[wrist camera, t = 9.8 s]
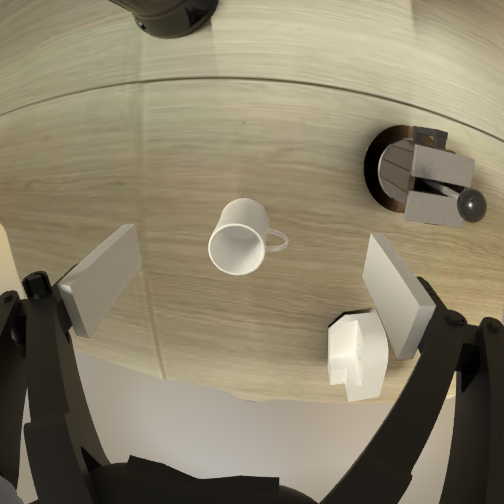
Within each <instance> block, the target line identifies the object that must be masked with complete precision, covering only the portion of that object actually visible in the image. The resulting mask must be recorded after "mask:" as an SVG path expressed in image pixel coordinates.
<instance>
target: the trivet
mask: <svg viewBox="0 0 504 504" xmlns="http://www.w3.org/2000/svg"><path fill="white" fill-rule="evenodd" d="M413 133H414V132H413V127H411V126H406V125H398V126H393V127H389V128H387V129H385V130H383V131H382V132H381V133H379V134H378V135H377V136H376V137H375V138H374V139H373V141H372V142H371V144H370V145H369V147H368V149H367V152H366V155H365V159H364V178H365V182H366V185H367V188H368V190H369V192H370V193H371V195H372V197H373V198H374V199H375V200H376V201H377V202H378V203H379V204H380V205H381V206H383V207H384V208H386V209H388V210H390V211H393V212H398V213H405V209H406V208H405V207H404V206H403V205H402V204H400V203H399V202H398V201H395V200H394V199H392V198H391V197H389V196H388V195H387V194H386V193H385V192H384V191H383V190H382V188H381V186H380V184H379V182H378V179H377V172H376V167H377V161H378V158H379V155H380V153H381V151H382V150H383V148H384V147H385V146H386V145H387V144H388V143H390V142H391V141H393V140H395V139H398V138H410V139H413ZM424 143H425V144H429V145H432V146H433V141H432V140H431V139H430V137H429V136H428V135H424Z"/></svg>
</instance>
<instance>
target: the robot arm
mask: <svg viewBox="0 0 504 504" xmlns="http://www.w3.org/2000/svg"><path fill="white" fill-rule="evenodd" d="M109 1H111V2H113V3H115V4H117V5H119V6H121V7H122V8H124V9H126V10H128V11H130V12H132V14H133V16H134V19H135V21H136V23H137V25H138V26H139V27H140V29H142V30H143V31H144V32H146V33H147V34H149V35H151V36H153V37H157V38H163V39H171V38H177V37H181V36H184V35H187V34H189V33H192V32H193V31H195V30H197V29H198V28H200V27H201V26H202V25H204V24H205V23H206V22H207V21H208V20H209V19H210V17H211V16H212V15H213V13H214V12H215V10H216V7H217V4H218V0H109ZM141 267H142V263H141V258H140V252H139V246H138V239H137V233H136V226H135V224H123V225H122V226H121V227H120V228H119V229H117V230H116V231H115V232H114V233H113V234H111V235H110V236H109V237H108V238H107V239H106V240H104V241H103V242H102V243H101V244H100V245H99V246H98V247H96V248H95V249H94V250H93V251H92V252H91V253H90V254H89V255H87V256H86V257H85V258H84V259H83V260H82V261H81V262H80V263H78V264H76V265H74V266H73V267H72V268H71V269H70V270H69V271H68V272H67V273H66V274H65V275H64V276H62V277H61V278H60V279H59V280H58V281H57V282H56V283H55V284H54V285H53V286H52V287H51V285H50V282H49V279H48V276H47V273H46V272H44V271H37V272H34V273H31V274H29V275H28V276H26V277H25V278H24V279H23V281H22V284H23V287H24V290H25V292H26V295H27V297H28V299H22V300H20V298H19V295H18V293H17V291H6V292H4V293H3V294H2V295H1V296H0V504H23V501H22V499H21V498H20V497H18V496H17V492H16V489H17V484H18V477H19V462H20V441H21V429H22V419H23V411H24V403H25V396H26V390H27V388H28V399H29V409H30V417H31V422H30V423H26V424H25V425H24V437H25V444H26V449H27V455H28V460H29V464H30V469H31V473H32V477H33V481H34V485H35V489H36V492H37V496H38V500H36V501H34V502H31V503H29V504H318V503H317V502H316V501H314V500H313V499H312V498H310V497H309V496H307V495H305V494H303V493H301V492H299V491H297V490H295V489H292V488H289V487H286V486H282V485H279V477H253V476H233V477H223V478H212V479H198V478H195V477H192V476H190V475H187V474H185V473H183V472H180V471H178V470H176V469H174V468H172V467H169V466H167V465H165V464H163V463H158V462H154V461H150V460H146V459H142V458H138V457H135V456H132V455H130V457H129V460H128V462H127V463H115V464H111V463H110V462H109V460H108V459H107V457H106V455H105V453H104V451H103V448H102V446H101V444H100V441H99V438H98V435H97V433H96V430H95V427H94V424H93V421H92V418H91V415H90V412H89V409H88V405H87V402H86V399H85V395H84V391H83V388H82V384H81V381H80V376H79V372H78V368H77V364H76V359H75V355H74V350H73V345H72V340H71V336H70V333H69V331H68V330H69V329H70V328H71V326H73V328H74V331H75V333H76V335H77V336H81V337H86V338H90V336H91V335H92V334H93V332H94V331H95V329H96V328H97V326H98V325H99V324H100V322H101V321H102V319H103V318H104V317H105V315H106V314H107V312H108V311H109V310H110V308H111V307H112V305H113V304H114V303H115V301H116V300H117V299H118V297H119V296H120V295H121V293H122V292H123V291H124V289H125V288H126V287H127V285H128V284H129V283H130V281H131V280H132V279H133V277H134V276H135V275H136V274H137V272H138V271H139V270H140V268H141ZM362 278H363V280H364V282H365V284H366V287H367V289H368V291H369V293H370V295H371V298H372V300H373V302H374V304H375V307H376V309H377V311H378V314H379V316H380V318H381V321H382V323H383V325H384V328H385V330H386V333H387V335H388V338H389V340H390V343H391V345H392V348H393V350H394V353H395V355H396V358H397V360H402V359H413V357H414V355H415V353H416V351H417V349H419V351H420V353H421V356H420V358H419V360H418V362H417V364H416V366H415V367H414V369H413V371H412V374H411V375H410V377H409V379H408V381H407V383H406V385H405V386H404V388H403V390H402V392H401V394H400V395H399V397H398V399H397V400H396V402H395V404H394V406H393V407H392V409H391V410H390V412H389V414H388V415H387V417H386V418H385V420H384V421H383V423H382V425H381V426H380V428H379V429H378V431H377V432H376V434H375V435H374V437H373V438H372V439H371V441H370V442H369V444H368V445H367V446H366V448H365V449H364V451H363V452H362V453H361V455H360V456H359V457H358V459H357V460H356V461H355V462H354V464H353V465H352V466H351V468H350V469H349V470H348V471H347V473H346V474H345V475H344V476H343V478H342V479H341V480H340V481H339V482H338V483H337V484H336V486H335V487H334V488H333V489H332V490H331V491H330V492H329V494H328V495H327V496H326V497H325V498H324V499H323V500H322V501H321V502H320V503H319V504H398V502H399V500H400V499H401V497H402V496H403V494H404V493H405V491H406V489H407V487H408V486H409V484H410V482H411V480H412V475H411V471H412V469H413V467H414V465H415V463H416V461H417V460H418V458H419V456H420V454H421V452H422V450H423V448H424V446H425V444H426V442H427V440H428V438H429V436H430V433H431V431H432V429H433V427H434V424H435V422H436V420H437V417H438V415H439V413H440V410H441V408H442V405H443V403H444V400H445V398H446V395H447V392H448V390H449V387H450V384H451V381H452V378H453V375H454V372H455V371H457V374H456V402H455V403H456V404H455V417H454V427H453V435H452V442H451V449H450V456H449V461H448V467H447V472H446V477H445V482H444V486H443V490H442V494H441V498H440V502H439V504H504V326H503V325H502V323H501V322H500V321H499V320H497V319H494V318H492V317H485V318H483V320H482V321H481V323H480V325H479V326H475V325H470V324H467V321H466V319H465V317H464V316H463V315H461V314H460V313H458V312H456V311H453V310H448V309H447V308H446V306H445V305H444V304H443V302H442V301H441V299H440V298H439V297H438V295H436V292H435V291H434V290H433V288H432V287H431V286H430V284H429V283H428V282H427V281H426V280H424V279H423V278H422V277H416V276H415V275H414V273H413V272H412V270H411V269H410V268H409V266H408V265H407V264H406V262H405V261H404V260H403V258H402V257H401V256H400V255H399V253H398V252H397V251H396V249H395V248H394V247H393V246H392V244H391V243H390V242H389V241H388V239H387V238H386V237H385V236H384V234H375V233H371V235H370V240H369V246H368V251H367V256H366V261H365V266H364V271H363V275H362ZM12 337H13V339H12Z"/></svg>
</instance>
